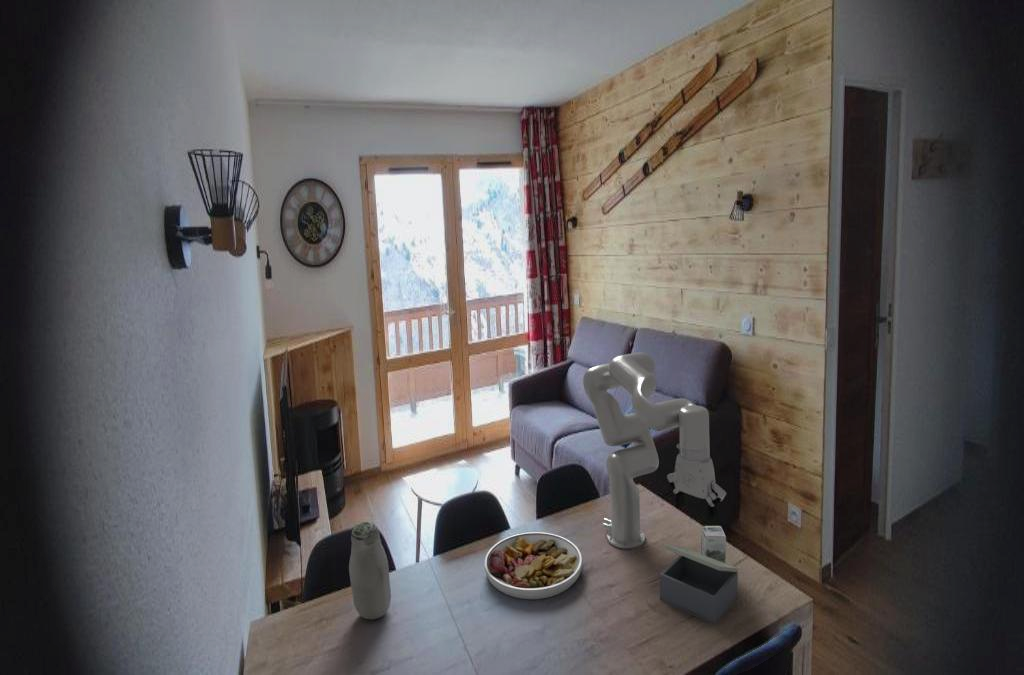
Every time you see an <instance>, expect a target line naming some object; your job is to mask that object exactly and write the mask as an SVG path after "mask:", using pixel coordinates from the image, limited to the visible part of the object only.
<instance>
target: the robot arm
mask: <svg viewBox="0 0 1024 675" xmlns="http://www.w3.org/2000/svg"><path fill="white" fill-rule="evenodd" d="M655 372H656V365H655V361H654V359H653V358H652V356H650V355H649V354H648V353H646V352H642V351H640V352H634V353H627V354H626V353H625V354H622V355H617V356H616V357H614V358H613V359H611V360H610V362H609V363H605V364H600V365H599V364H598V365H596V366H595V365H594V366H592V367H590V368H589V369H587V370H586V371H585V372H584V373H583V376H582V381H583V382H582V384H583V390H584V392H585V395H586V397H587V399H588V400H589V403H590V404H591V406H592V408H593V410H594V414H595V417H596V420H597V424H598V426H599V430H600V433H601V436H602V439H603V441H604V444H606V445H607V446H608V447H619V446H623V445H627V444H631V443H632V444H633V445H634V446H631V447H626V448H622V449H618V450H615V451H613V452H611V453H610V454H608V456H607V458H606V461H605V464H606V472H607V475H608V480H609V495H610V496H609V497H610V500H609V501H610V519H609V518H607V517H604V518H603V523H602V527H603V528H606V529H607V530H608V531H607V532H606V540H607V542H608V543H609V544H610V545H611V546H613V547H616V548H619V549H624V550H631V549H637V548H639V547H642V546H643V545H644V543H645V542H646V535H645V534H644V532H643V531H642V530H641V513H640V512H641V511H640V510H641V509H640V508H641V506H640V499H641V498H640V488H639V486H638V485H637V484H636V483H635V482H634V479H635V478H637V477H640V476H644V475H648V474H651V473H655V471H656V470H657V469H658V468H659V464H660V462H659V455H658V451H657V448H656V446H655V445H656V444H655V441H654V439H653V435H652V433H651V430H652V431H656V432H661V431H667V430H670V429H674V428H679V429H678V431H679V432H678V433H679V443H677V444H676V449H678V450H679V453H678V454H677V456H676V460H675V465H674V472H672V473H668V474H667V475H666V478H667V481H668V482H669V486H670V487H671V489H672V490H673V494H675V495H674V496H675V508H676V509H680V508H682V507H684V506H685V505H686V501H685V500H686V496H685V494H686V495H687V494H688V496H689V495H690V496H693V497H695V498H699V499H701V500H702V499H703V500H704V499H705V500H706V502H707V503H708V505H707V520H709V521H712V520H714V519H715V518H717V515H718V505H719V503H721V502H723V501H724V498H725V497H726V496H727V492H726V491H725V490H724V489H723V487H721V486H719V485H718V484H717V483H716V475H715V467H714V463H713V459H712V458H711V456H710V454H711V453H710V447H711V446H710V414H709V411H708V408H706V407H705V406H702V405H696V404H695V403H694V402H692V401H691V400H690V399H688V398H684V397H680V398H675V399H670V400H665V401H660V402H655V403H654V402H652V401H651V400H650V399H649V398H651V397H652V395H654V393H655V391H656V389H657V387H658V386H657V385H658V383H657V379H656V377H655V376H654V373H655ZM618 388H624V389H625V390H626V391H627V392H628V393H629V394H630V395H631V404H632V409H633V411H634V412H631V413H626V414H623V412H622V409H621V406H620V403H619V401H618V400H617V399H616V398H615V396H613V395H612V394H611V393H610V392H609V391H608V390H613V389H618ZM650 429H651V430H650ZM715 493H717V495H716V494H715Z"/></svg>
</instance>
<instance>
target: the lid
mask: <svg viewBox="0 0 1024 675" xmlns="http://www.w3.org/2000/svg"><path fill="white" fill-rule="evenodd" d="M662 549H664V550H667V551H669V552H671V553H673V554H677V555H678V556H679V555H681V556H684V557H687V558H689V559H692V560H694V561H697V562H699V563H702V564H704V565H707V566H709V567H712V568H714V569H717V570H720V571H731V572H738V571H739V568H738V567H736V566H733V565H731V564H727V563H726V562H725V563H723V562H720V561H718V560H715V559H713V558H710V557H707V556H705V555H702V554H701V552H697V551H695V550H692V549H689V548H686V547H682V546H676V545H669V544H663V546H662ZM738 573H739V572H738Z"/></svg>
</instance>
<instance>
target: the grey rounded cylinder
mask: <svg viewBox="0 0 1024 675" xmlns="http://www.w3.org/2000/svg"><path fill="white" fill-rule="evenodd" d="M350 535H351V536H350V538H351V539H350V540H351V541H350V542H351V548H350V550H351V551H350V552H351V553H350V557H349V564H348V572H349V579H350V587H351V594H352V601H353V606H354V608H355V610H356V612H357V613H358V614H359V616H360V617H362V618H363V619H366V620H377V618H378V619H381V617H383V616H385V614H386V613H388V610H389V608H390V604H391V601H392V599H391V598H392V590H391V583H390V570H389V561H388V557H387V553H386V552H385V548H384V546H383V544H382V540H381V536H380V530H379V527H378V526H377V525H376V524H375V523H373V522H370V521H363V522H359V523H356V524H355V525H354V526H353V528H352V530H351V534H350Z"/></svg>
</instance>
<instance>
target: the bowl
mask: <svg viewBox="0 0 1024 675" xmlns="http://www.w3.org/2000/svg"><path fill="white" fill-rule="evenodd" d="M582 556H583V555H582V553H581V550H580V549H579V548H578V546H577V545H576V544H575V543H573V542H572V541H571V540H569V539H567V538H565V537H563V536H561V535H557V534H555V533H554V534H553V533H550V532H542V531H541V532H537V531H533V532H532V531H531V532H523V533H518V534H514V535H510V536H508V537H505V538H502V539H501V540H500V541H498V542H496V543H495V544H494V545H493V546H492V547H490V549H489V550H488V551H487V553H486V555H485V558H484V571H485V574H486V577H487V579H488V581H489V582H490V584H492V585H493V586H494V588H496V589H497V591H500V592H501V593H503V594H504V595H508V596H509V597H513V598H516V599H523V600H543V599H547V598H550V597H553V596H554V597H555V596H557V595H559V594H562V593H563V592H565V591H567V590H568V589H569V588H570V587H572V586H573V585H574V584H575V582H576V581H577V580H578V578H579V577H580V574H581V572H582V568H583V557H582Z"/></svg>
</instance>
